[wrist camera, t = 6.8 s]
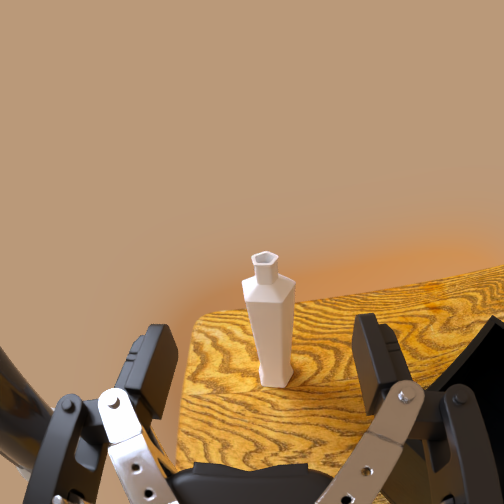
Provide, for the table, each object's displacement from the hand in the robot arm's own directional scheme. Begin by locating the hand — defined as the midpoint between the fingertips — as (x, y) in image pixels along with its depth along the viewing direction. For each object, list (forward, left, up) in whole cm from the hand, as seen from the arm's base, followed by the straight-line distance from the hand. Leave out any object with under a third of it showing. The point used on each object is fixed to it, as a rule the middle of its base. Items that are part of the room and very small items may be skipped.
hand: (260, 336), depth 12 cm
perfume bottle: (+6, +10, -18) cm, 21 cm away
